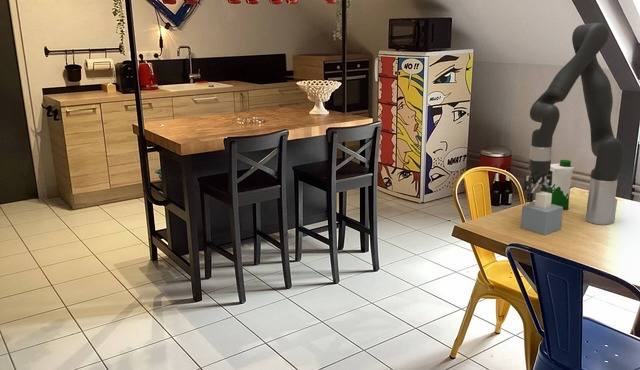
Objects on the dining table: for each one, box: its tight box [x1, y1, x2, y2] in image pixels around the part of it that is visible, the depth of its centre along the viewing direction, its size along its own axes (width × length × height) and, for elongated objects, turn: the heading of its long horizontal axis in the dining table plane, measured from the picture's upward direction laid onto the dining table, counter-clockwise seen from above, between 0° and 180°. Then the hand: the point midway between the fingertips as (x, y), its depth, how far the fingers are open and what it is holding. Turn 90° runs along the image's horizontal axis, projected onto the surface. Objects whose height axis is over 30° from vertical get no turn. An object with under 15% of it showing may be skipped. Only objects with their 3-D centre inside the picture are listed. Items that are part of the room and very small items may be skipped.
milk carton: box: [547, 159, 575, 211], centre depth 229 cm, size 9×9×20 cm
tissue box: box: [520, 190, 564, 236], centre depth 207 cm, size 10×10×14 cm
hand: (536, 199), depth 208 cm, fingers open, 8 cm apart
